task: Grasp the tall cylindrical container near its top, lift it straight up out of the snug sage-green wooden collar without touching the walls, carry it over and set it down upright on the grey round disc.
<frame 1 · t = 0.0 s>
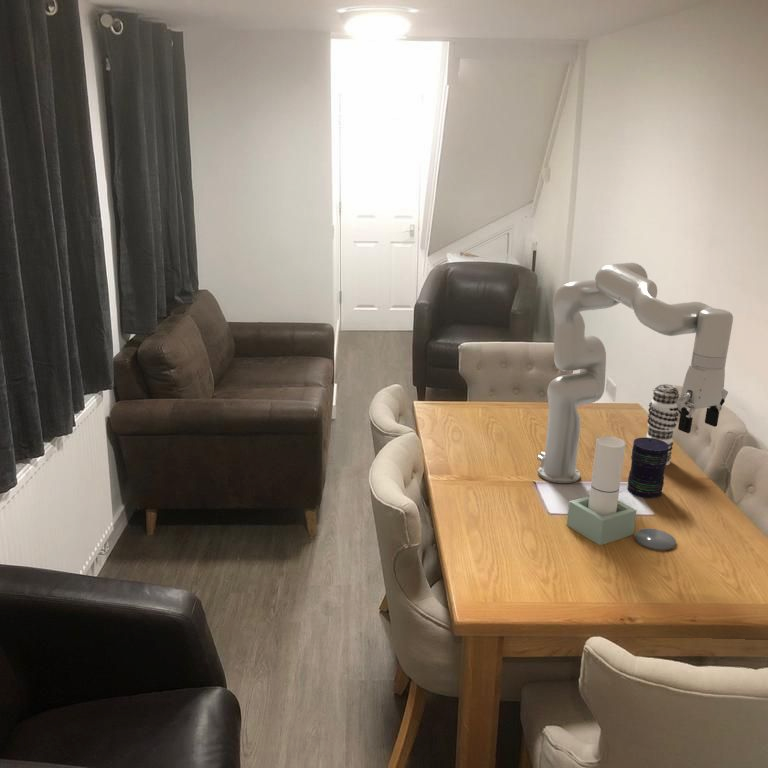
hand: (697, 428, 192), 31 cm above the table, fingers open, 9 cm apart
collar: (599, 529, 206), on the table
cylindrical container: (599, 530, 206), resting in collar
grey round disc: (654, 540, 201), on the table
decorative candle: (656, 461, 251), on the table
storage jar: (644, 491, 229), on the table
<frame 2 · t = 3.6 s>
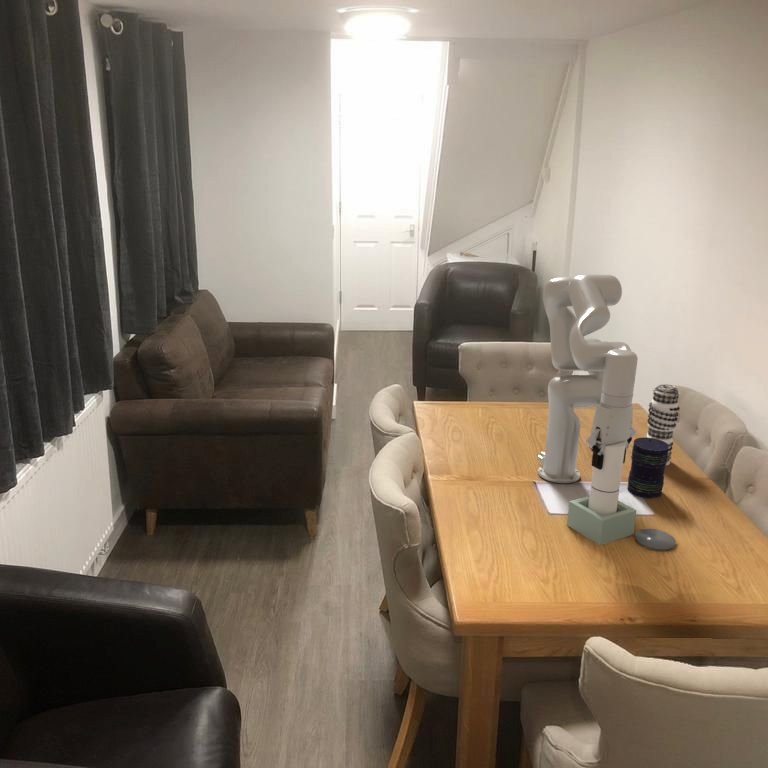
hand: (608, 464, 200), 19 cm above the table, fingers closed on cylindrical container, 7 cm apart
cylindrical container: (599, 530, 206), resting in collar, touching gripper
everything else where it was.
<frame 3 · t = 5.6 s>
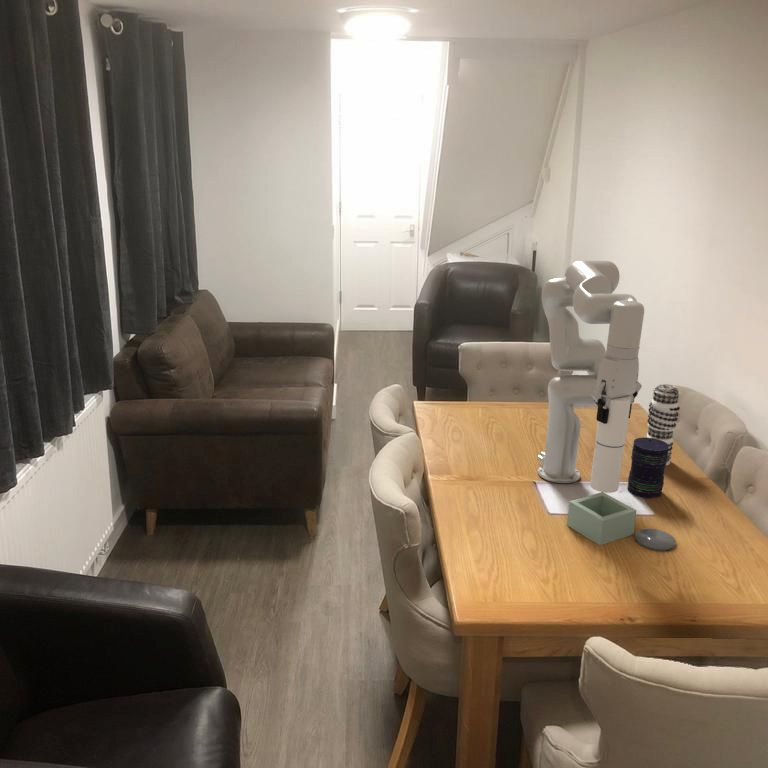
hand: (613, 418, 197), 31 cm above the table, fingers closed on cylindrical container, 7 cm apart
cylindrical container: (604, 487, 203), point 12 cm above the table, touching gripper
everything else where it was.
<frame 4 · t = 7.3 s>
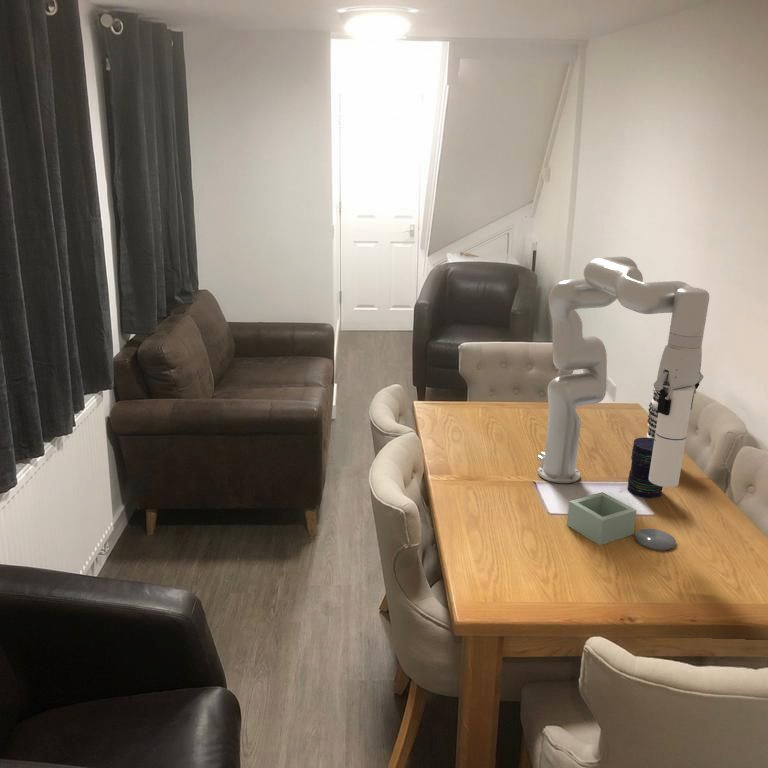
hand: (674, 410, 190), 36 cm above the table, fingers closed on cylindrical container, 7 cm apart
cylindrical container: (663, 481, 196), point 17 cm above the table, touching gripper
everything else where it was.
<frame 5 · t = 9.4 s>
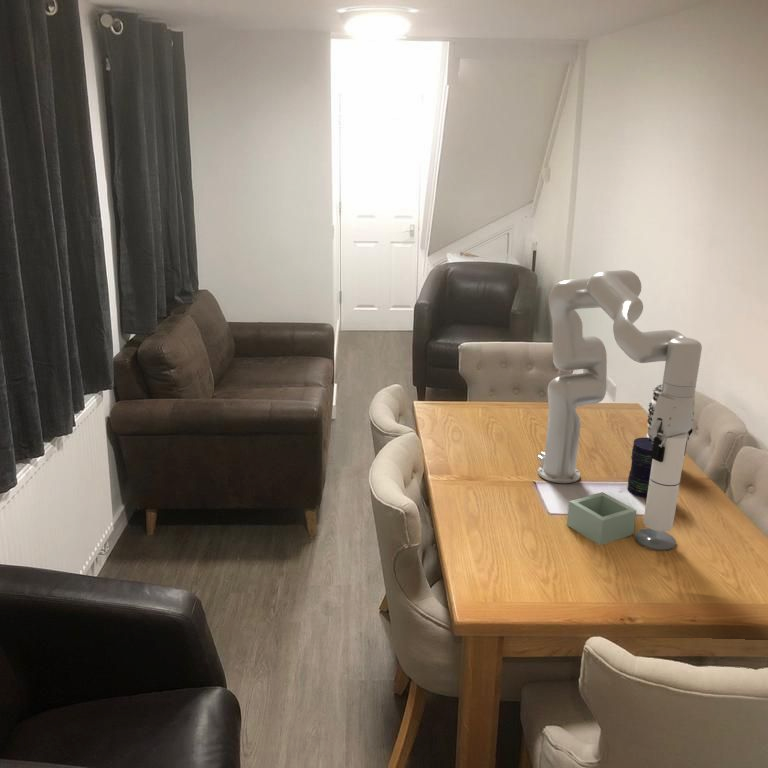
hand: (668, 456, 194), 24 cm above the table, fingers closed on cylindrical container, 7 cm apart
cylindrical container: (657, 525, 200), point 5 cm above the table, touching gripper
everything else where it was.
when the fingers open (20 cm above the table, at t = 11.2 s): cylindrical container stays where it is, resting on grey round disc.
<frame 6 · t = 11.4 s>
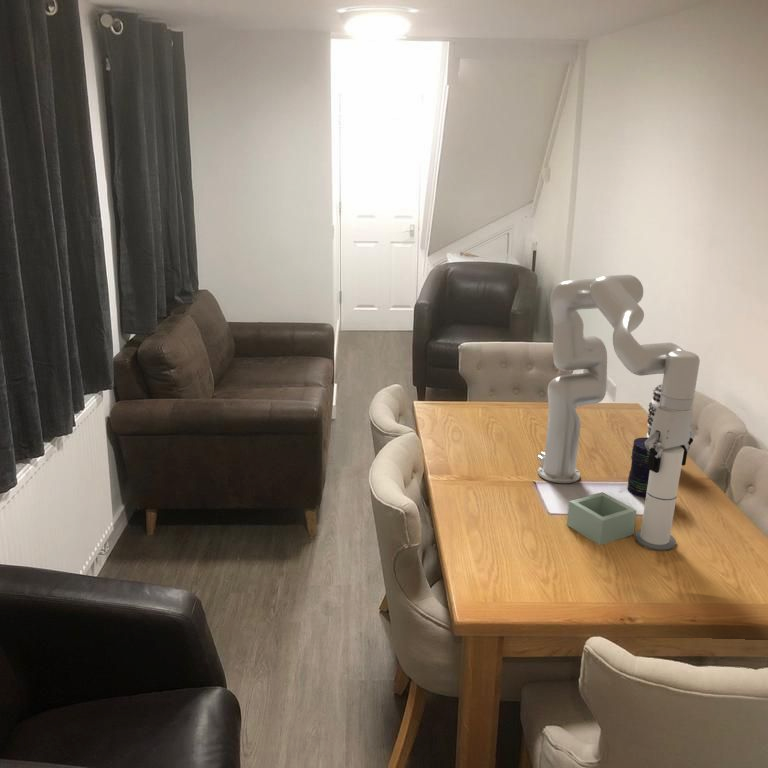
hand: (666, 467, 195), 21 cm above the table, fingers open, 9 cm apart
cylindrical container: (654, 538, 201), point 1 cm above the table, touching grey round disc
everything else where it was.
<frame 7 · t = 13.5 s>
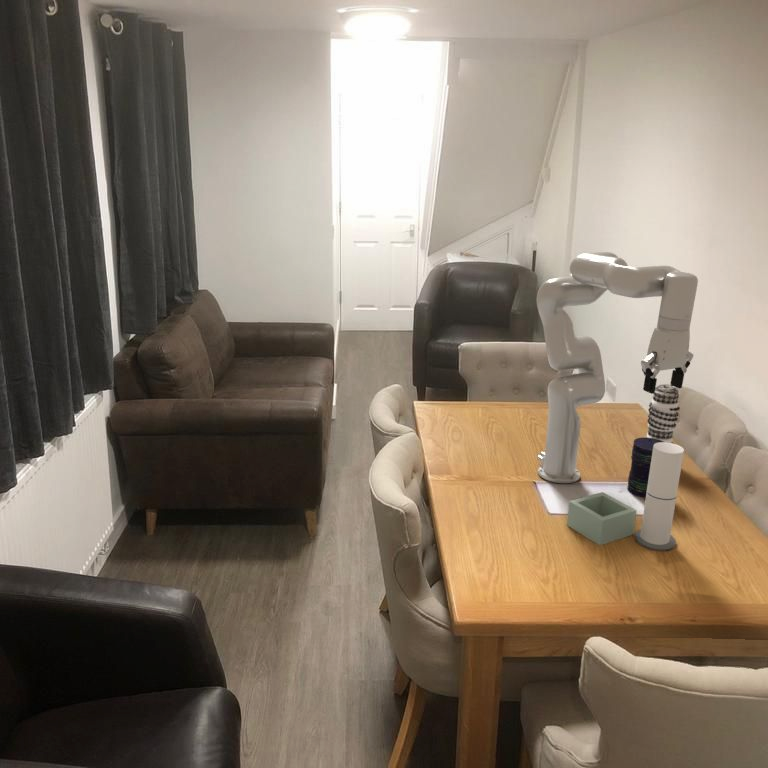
hand: (662, 389, 197), 38 cm above the table, fingers open, 9 cm apart
nothing on the table moved.
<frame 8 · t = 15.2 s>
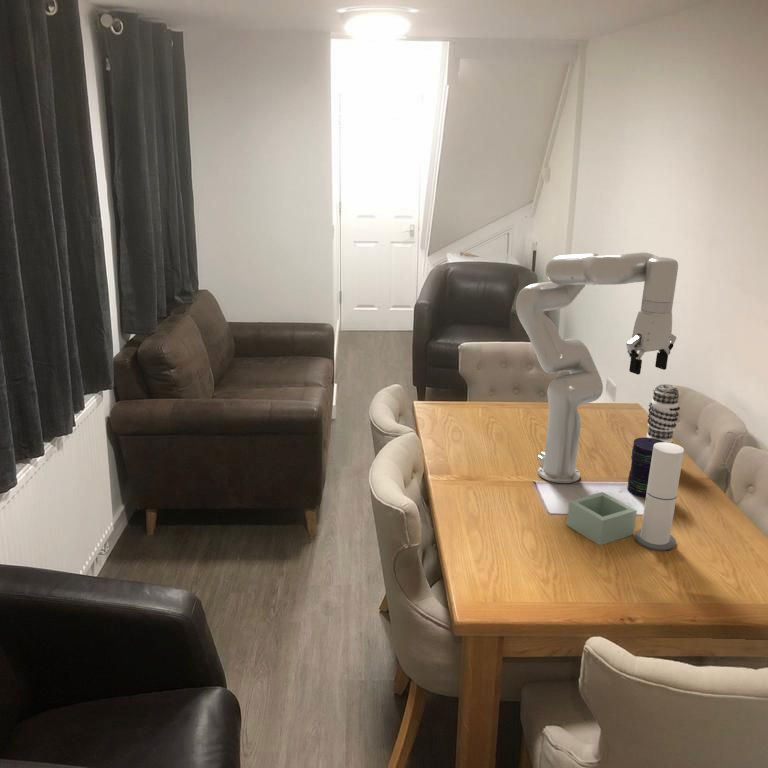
hand: (647, 370, 205), 40 cm above the table, fingers open, 9 cm apart
nothing on the table moved.
at the end: cylindrical container 0.2 cm from the grey round disc (horizontally); cylindrical container tilted 0°; cylindrical container point 0.6 cm above the table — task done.
